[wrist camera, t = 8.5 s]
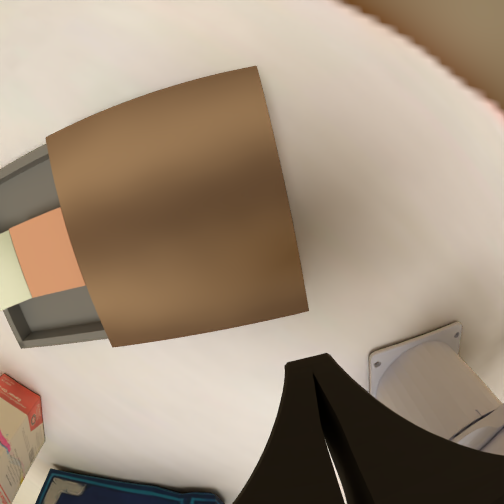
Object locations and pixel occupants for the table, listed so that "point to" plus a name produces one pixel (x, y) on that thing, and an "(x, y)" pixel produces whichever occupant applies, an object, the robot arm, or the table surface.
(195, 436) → the table surface
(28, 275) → the tile
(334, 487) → the robot arm
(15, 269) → the tile
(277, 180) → the plate
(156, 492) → the book
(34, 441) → the ink cartridge box
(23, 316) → the tray
